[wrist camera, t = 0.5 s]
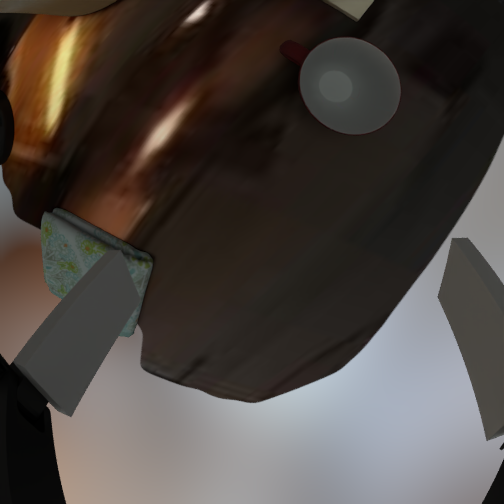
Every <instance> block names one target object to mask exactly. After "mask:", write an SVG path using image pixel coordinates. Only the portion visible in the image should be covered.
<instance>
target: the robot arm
mask: <svg viewBox="0 0 504 504" xmlns="http://www.w3.org/2000/svg"><path fill="white" fill-rule="evenodd" d="M13 135H14V124H13V115H12V110H11V107H10V104H9V101H8V99H7V97H6V96H5V94H4V93H3V92H2V91H0V165H1V164H3V163H4V162H5V161H6V160H7V158H8V157H9V154H10V152H11V148H12V144H13ZM438 299H439V301H440V303H441V305H442V308H443V310H444V312H445V314H446V317H447V319H448V321H449V324H450V326H451V329H452V331H453V333H454V336H455V338H456V341H457V343H458V346H459V349H460V351H461V354H462V357H463V360H464V362H465V365H466V368H467V371H468V374H469V377H470V380H471V383H472V386H473V390H474V393H475V397H476V400H477V403H478V407H479V411H480V414H481V418H482V423H483V427H484V431H485V436H486V440H487V441H488V440H490V439H494V438H496V437H499V436H502V435H504V285H503V283H502V282H501V281H500V279H499V277H498V276H497V275H496V273H495V272H494V271H493V269H492V268H491V266H490V265H489V264H488V262H487V261H486V260H485V259H484V257H483V256H482V255H481V253H480V252H479V251H478V250H477V249H476V247H475V246H474V245H473V244H472V242H471V241H470V240H469V239H468V238H452V241H451V246H450V250H449V255H448V259H447V264H446V268H445V272H444V276H443V279H442V283H441V287H440V291H439V294H438ZM140 302H141V298H140V296H139V294H138V291H137V289H136V287H135V284H134V282H133V279H132V277H131V274H130V272H129V269H128V267H127V264H126V262H125V259H124V257H123V254H122V251H121V250H108V251H107V252H106V253H105V254H104V255H103V256H102V257H101V258H100V259H99V260H98V261H97V262H96V263H95V264H94V265H93V266H92V267H91V268H90V269H89V271H88V272H87V273H86V274H85V275H84V276H83V277H82V278H81V279H80V280H79V281H78V282H77V283H76V285H75V286H74V287H73V288H72V289H71V290H70V291H69V292H68V294H67V295H66V296H65V297H64V298H63V299H62V300H61V302H60V303H59V304H58V305H57V306H56V307H55V309H54V310H53V311H52V312H51V313H50V315H49V316H48V317H47V318H46V319H45V321H44V322H43V323H42V324H41V326H40V327H39V328H38V329H37V331H36V332H35V333H34V334H33V335H32V337H31V338H30V339H29V341H28V342H27V343H26V345H25V346H24V347H23V349H22V350H21V351H20V352H19V354H18V355H17V357H16V358H15V359H14V361H13V362H12V363H11V364H10V365H9V364H8V363H7V362H6V360H5V359H4V358H3V357H2V356H1V354H0V504H66V501H65V497H64V493H63V490H62V485H61V481H60V476H59V471H58V465H57V460H56V454H55V447H54V440H53V432H52V423H51V413H50V410H49V408H48V407H47V406H46V405H47V403H48V402H49V403H50V404H51V405H52V406H53V407H54V408H55V409H56V410H57V411H59V412H61V413H63V414H66V415H68V416H70V417H71V416H72V415H73V413H74V411H75V409H76V407H77V405H78V403H79V402H80V400H81V398H82V396H83V395H84V393H85V391H86V389H87V388H88V386H89V384H90V382H91V381H92V379H93V377H94V376H95V374H96V372H97V370H98V369H99V367H100V365H101V364H102V362H103V360H104V359H105V357H106V355H107V354H108V352H109V350H110V349H111V347H112V346H113V344H114V342H115V341H116V339H117V338H118V336H119V334H120V333H121V331H122V330H123V328H124V326H125V325H126V323H127V322H128V320H129V319H130V317H131V316H132V314H133V312H134V311H135V309H136V308H137V306H138V305H139V303H140ZM502 449H504V443H503V444H502V446H501V447H500V450H502ZM482 504H504V460H503V462H502V464H501V466H500V469H499V471H498V473H497V475H496V478H495V479H494V481H493V483H492V485H491V487H490V489H489V491H488V493H487V495H486V497H485V499H484V501H483V502H482Z"/></svg>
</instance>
